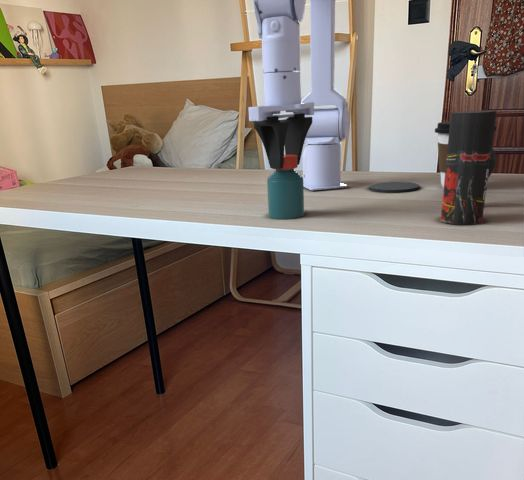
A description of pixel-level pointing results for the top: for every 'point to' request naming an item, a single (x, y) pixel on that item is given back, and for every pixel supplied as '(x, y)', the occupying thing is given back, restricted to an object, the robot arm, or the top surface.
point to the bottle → (285, 194)
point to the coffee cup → (443, 146)
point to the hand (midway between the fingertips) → (284, 166)
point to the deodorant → (467, 166)
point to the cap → (289, 162)
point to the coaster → (393, 187)
